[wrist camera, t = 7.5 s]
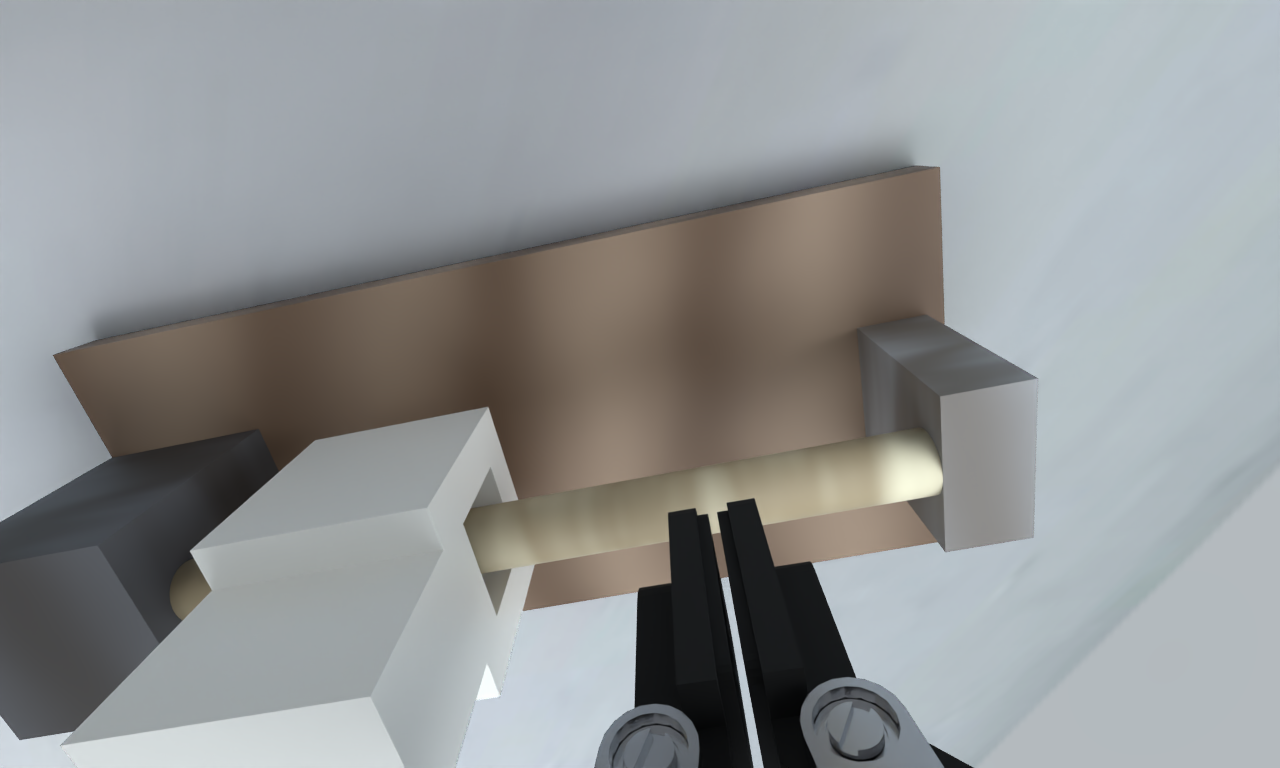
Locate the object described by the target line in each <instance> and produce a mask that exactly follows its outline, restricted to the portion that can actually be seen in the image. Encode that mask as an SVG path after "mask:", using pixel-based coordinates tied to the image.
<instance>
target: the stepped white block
mask: <svg viewBox="0 0 1280 768" xmlns="http://www.w3.org/2000/svg"><path fill="white" fill-rule="evenodd" d="M515 500H518V498H517V495H516V492H515V488H514V485H513V482H512V479H511V476H510V473H509V470H508V467H507V464H506V461H505V457H504V454H503V451H502V448H501V445H500V442H499V439H498V436H497V433H496V429H495V426H494V423H493V420H492V417H491V414H490V411H489V408H488V407H484V408H479V409H474V410H469V411H464V412H458V413H453V414H448V415H443V416H438V417H433V418H427V419H422V420H417V421H412V422H407V423H402V424H396V425H391V426H386V427H381V428H376V429H371V430H365V431H360V432H355V433H350V434H345V435H340V436H334V437H329V438H324V439H319V440H315V441H314V442H313V443H311V444H310V445H309V446H308V447H307V448H306V449H305V450H303V451H302V452H301V453H300V454H299V455H298V456H297V457H296V458H294V459H293V460H292V461H291V462H290V463H289V464H288V465H286V466H285V467H284V468H283V469H282V470H281V471H280V472H279V473H277V474H276V475H275V476H274V477H273V478H272V479H271V480H269V481H268V482H267V483H266V484H265V485H264V486H263V487H262V488H260V489H259V490H258V491H257V492H256V493H255V494H254V495H252V496H251V497H250V498H249V499H248V500H247V501H246V502H245V503H243V504H242V505H241V506H240V507H239V508H238V509H237V510H235V511H234V512H233V513H232V514H231V515H230V516H229V517H228V518H226V519H225V520H224V521H223V522H222V523H221V524H220V525H218V526H217V527H216V528H215V529H214V530H213V531H212V532H211V533H209V534H208V535H207V536H206V537H205V538H204V539H203V540H201V541H200V542H199V543H198V544H197V545H196V546H195V547H194V548H192V549H191V550H190V552H191V554H192V556H193V558H194V560H195V561H196V563H197V565H198V567H199V568H200V570H201V572H202V574H203V575H204V577H205V579H206V581H207V583H208V584H209V586H210V588H211V590H212V591H211V592H210V593H209V594H208V595H207V596H206V597H205V598H204V599H203V600H202V601H201V602H200V603H199V604H198V605H197V606H196V608H195V609H194V610H193V611H192V612H191V613H190V614H189V615H188V616H187V617H186V618H185V619H184V620H183V621H182V622H181V623H180V624H179V625H178V626H177V627H176V628H175V629H174V630H173V631H172V632H171V633H170V634H169V635H168V636H167V637H166V638H165V639H164V640H163V641H162V642H161V643H160V644H159V645H158V646H157V647H156V648H155V649H154V650H153V651H152V652H151V653H150V654H149V655H148V656H147V658H146V659H145V660H144V661H143V662H142V663H141V664H140V665H139V666H138V667H137V668H136V669H135V670H134V671H133V672H132V673H131V674H130V675H129V676H128V677H127V678H126V679H125V680H124V681H123V682H122V683H121V684H120V685H119V686H118V687H117V688H116V689H115V690H114V691H113V692H112V693H111V694H110V695H109V696H108V697H107V698H106V699H105V700H104V701H103V702H102V703H101V704H100V705H99V706H98V708H97V709H96V710H95V711H94V712H93V713H92V714H91V715H90V716H89V717H88V718H87V719H86V720H85V721H84V722H83V723H82V724H81V725H80V726H79V727H78V728H77V729H76V730H75V731H74V732H73V733H72V734H71V735H70V736H69V737H68V738H67V739H66V740H65V741H64V742H63V743H62V744H61V745H60V746H61V748H62V749H63V750H64V752H65V753H66V754H67V755H68V757H69V758H70V759H71V761H72V762H73V763H74V765H75V766H76V767H77V768H456V764H457V761H458V758H459V754H460V751H461V748H462V744H463V741H464V738H465V735H466V731H467V728H468V725H469V721H470V718H471V715H472V711H473V708H474V705H475V701H477V700H483V699H490V698H496V697H500V696H501V692H502V688H503V684H504V680H505V676H506V673H507V669H508V665H509V661H510V657H511V653H512V650H513V646H514V642H515V638H516V634H517V630H518V627H519V623H520V619H521V615H522V611H523V607H524V603H525V600H526V596H527V592H528V588H529V584H530V580H531V577H532V573H533V569H534V565H529V566H523V567H517V568H512V569H506V570H500V571H494V572H488V573H483V574H481V572H480V569H479V566H478V563H477V561H476V558H475V555H474V552H473V550H472V547H471V544H470V541H469V539H468V536H467V533H466V531H465V528H464V525H463V523H464V521H465V519H466V517H467V515H468V513H469V511H470V509H471V508H476V507H482V506H487V505H493V504H499V503H504V502H510V501H515Z"/></svg>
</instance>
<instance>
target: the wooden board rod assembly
mask: <svg viewBox="0 0 1280 768" xmlns="http://www.w3.org/2000/svg"><path fill="white" fill-rule="evenodd" d="M53 356H54V358H55V360H56V362H57V363H58V365H59V367H60V368H61V370H62V372H63V374H64V375H65V377H66V379H67V381H68V382H69V384H70V386H71V387H72V389H73V391H74V393H75V394H76V396H77V398H78V399H79V401H80V403H81V405H82V406H83V408H84V410H85V411H86V413H87V415H88V417H89V418H90V420H91V422H92V424H93V425H94V427H95V429H96V430H97V432H98V434H99V436H100V437H101V439H102V441H103V442H104V444H105V446H106V448H107V449H108V451H109V453H110V455H111V456H112V458H111V459H109V460H107V461H106V462H104V463H102V464H100V465H99V466H97V467H95V468H94V469H92V470H90V471H88V472H87V473H85V474H83V475H81V476H80V477H78V478H76V479H74V480H73V481H71V482H69V483H68V484H66V485H64V486H62V487H61V488H59V489H57V490H55V491H54V492H52V493H50V494H49V495H47V496H45V497H43V498H42V499H40V500H38V501H36V502H35V503H33V504H31V505H29V506H28V507H26V508H24V509H23V510H21V511H19V512H17V513H16V514H14V515H12V516H10V517H9V518H7V519H5V520H3V521H2V522H0V716H1V717H2V718H3V719H4V721H5V722H6V723H7V725H8V726H9V727H10V728H11V730H12V731H13V732H14V733H15V735H16V736H17V737H18V738H19V740H23V739H29V738H35V737H42V736H48V735H54V734H60V733H67V732H73V731H75V730H76V729H77V728H78V727H79V726H80V725H81V724H82V723H83V722H84V721H85V720H86V719H87V718H88V717H89V716H90V715H91V714H92V713H93V712H94V711H95V710H96V709H97V708H98V706H99V705H100V704H101V703H102V702H103V701H104V700H105V699H106V698H107V697H108V696H109V695H110V694H111V693H112V692H113V691H114V690H115V689H116V688H117V687H118V686H119V685H120V684H121V683H122V682H123V681H124V680H125V679H126V678H127V677H128V676H129V675H130V674H131V673H132V672H133V671H134V670H135V669H136V668H137V667H138V666H139V665H140V664H141V663H142V662H143V661H144V660H145V659H146V658H147V656H148V655H149V654H150V653H151V652H152V651H153V650H154V649H155V648H156V647H157V646H158V645H159V644H160V643H161V642H162V641H163V640H164V639H165V638H166V637H167V636H168V635H169V634H170V633H171V632H172V631H173V630H174V629H175V628H176V627H177V626H178V625H179V624H180V623H181V622H182V621H183V620H184V619H185V618H186V617H187V616H188V615H189V614H190V613H191V612H192V611H193V610H194V609H195V608H196V606H197V605H198V604H199V603H200V602H201V601H202V600H203V599H204V598H205V597H206V596H207V595H208V594H209V593H210V592H211V591H212V590H211V588H210V586H209V584H208V583H207V581H206V579H205V577H204V575H203V574H202V572H201V570H200V568H199V567H198V565H197V563H196V561H195V560H194V558H193V556H192V554H191V552H190V550H191V549H192V548H194V547H195V546H196V545H197V544H198V543H199V542H200V541H201V540H203V539H204V538H205V537H206V536H207V535H208V534H209V533H211V532H212V531H213V530H214V529H215V528H216V527H217V526H218V525H220V524H221V523H222V522H223V521H224V520H225V519H226V518H228V517H229V516H230V515H231V514H232V513H233V512H234V511H235V510H237V509H238V508H239V507H240V506H241V505H242V504H243V503H245V502H246V501H247V500H248V499H249V498H250V497H251V496H252V495H254V494H255V493H256V492H257V491H258V490H259V489H260V488H262V487H263V486H264V485H265V484H266V483H267V482H268V481H269V480H271V479H272V478H273V477H274V476H275V475H276V474H277V473H279V472H280V471H281V470H282V469H283V468H284V467H285V466H286V465H288V464H289V463H290V462H291V461H292V460H293V459H294V458H296V457H297V456H298V455H299V454H300V453H301V452H302V451H303V450H305V449H306V448H307V447H308V446H309V445H310V444H311V443H313V442H314V441H315V440H319V439H324V438H329V437H334V436H340V435H345V434H350V433H355V432H360V431H365V430H371V429H376V428H381V427H386V426H391V425H396V424H402V423H407V422H412V421H417V420H422V419H427V418H433V417H438V416H443V415H448V414H453V413H458V412H464V411H469V410H474V409H479V408H484V407H488V408H489V411H490V414H491V417H492V420H493V423H494V426H495V429H496V433H497V436H498V439H499V442H500V445H501V448H502V451H503V454H504V457H505V461H506V464H507V467H508V470H509V473H510V476H511V479H512V482H513V485H514V488H515V492H516V495H517V498H518V500H515V501H510V502H504V503H499V504H493V505H487V506H482V507H476V508H471V509H470V511H469V513H468V515H467V517H466V519H465V521H464V523H463V525H464V528H465V531H466V533H467V536H468V539H469V541H470V544H471V547H472V550H473V552H474V555H475V558H476V561H477V563H478V566H479V569H480V572H481V574H483V573H488V572H494V571H500V570H506V569H512V568H517V567H523V566H529V565H534V569H533V573H532V577H531V580H530V584H529V588H528V592H527V596H526V600H525V603H524V607H523V611H526V610H532V609H538V608H544V607H550V606H556V605H562V604H568V603H574V602H580V601H586V600H592V599H598V598H604V597H610V596H616V595H622V594H628V593H634V592H638V590H639V588H642V587H648V586H654V585H661V584H667V583H671V569H670V548H669V528H668V512H674V511H680V510H686V509H692V508H696V511H697V515H702V514H708V517H709V521H710V527H711V532H712V537H713V542H714V547H715V552H716V557H717V563H718V568H719V573H720V578H724V577H728V571H727V566H726V560H725V555H724V549H723V544H722V538H721V532H720V527H719V521H718V516H717V512H720V511H726V510H728V509H727V503H728V502H734V501H740V500H746V499H752V498H754V499H755V501H756V505H757V508H758V512H759V515H760V518H761V522H762V525H763V529H764V532H765V536H766V539H767V542H768V546H769V549H770V553H771V556H772V559H773V563H774V566H775V567H776V566H782V565H789V564H795V563H802V562H808V561H810V562H811V563H815V562H821V561H827V560H833V559H839V558H845V557H851V556H857V555H863V554H869V553H875V552H881V551H887V550H893V549H899V548H905V547H911V546H917V545H923V544H929V543H935V542H938V543H939V544H940V546H941V547H942V548H943V550H944V551H945V552H950V551H956V550H962V549H968V548H974V547H980V546H986V545H992V544H998V543H1004V542H1010V541H1016V540H1022V539H1028V538H1034V508H1035V473H1036V438H1037V403H1038V378H1036V377H1035V376H1033V375H1031V374H1029V373H1028V372H1026V371H1024V370H1022V369H1021V368H1019V367H1017V366H1015V365H1014V364H1012V363H1010V362H1009V361H1007V360H1005V359H1003V358H1002V357H1000V356H998V355H996V354H995V353H993V352H991V351H989V350H988V349H986V348H984V347H982V346H981V345H979V344H977V343H975V342H974V341H972V340H970V339H968V338H967V337H965V336H963V335H961V334H960V333H958V332H956V331H954V330H953V329H951V328H949V327H947V326H946V325H944V291H943V257H942V223H941V189H940V167H929V166H913V167H908V168H904V169H899V170H894V171H889V172H885V173H880V174H875V175H871V176H866V177H861V178H857V179H852V180H847V181H842V182H838V183H833V184H828V185H824V186H819V187H814V188H810V189H805V190H800V191H795V192H791V193H786V194H781V195H777V196H772V197H767V198H763V199H758V200H753V201H749V202H744V203H739V204H734V205H730V206H725V207H720V208H716V209H711V210H706V211H702V212H697V213H692V214H687V215H683V216H678V217H673V218H669V219H664V220H659V221H655V222H650V223H645V224H640V225H636V226H631V227H626V228H622V229H617V230H612V231H608V232H603V233H598V234H593V235H589V236H584V237H579V238H575V239H570V240H565V241H561V242H556V243H551V244H546V245H542V246H537V247H532V248H528V249H523V250H518V251H514V252H509V253H504V254H499V255H495V256H490V257H485V258H481V259H476V260H471V261H467V262H462V263H457V264H452V265H448V266H443V267H438V268H434V269H429V270H424V271H420V272H415V273H410V274H405V275H401V276H396V277H391V278H387V279H382V280H377V281H373V282H368V283H363V284H359V285H354V286H349V287H344V288H340V289H335V290H330V291H326V292H321V293H316V294H312V295H307V296H302V297H297V298H293V299H288V300H283V301H279V302H274V303H269V304H265V305H260V306H255V307H250V308H246V309H241V310H236V311H232V312H227V313H222V314H218V315H213V316H208V317H203V318H199V319H194V320H189V321H185V322H180V323H175V324H171V325H166V326H161V327H156V328H152V329H147V330H142V331H138V332H133V333H128V334H124V335H119V336H114V337H109V338H105V339H100V340H95V341H92V342H89V343H87V344H84V345H81V346H78V347H75V348H72V349H69V350H66V351H63V352H61V353H58V354H55V355H53Z"/></svg>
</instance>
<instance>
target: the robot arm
mask: <svg viewBox="0 0 1280 768" xmlns="http://www.w3.org/2000/svg"><path fill="white" fill-rule="evenodd" d="M727 509H728V510H726V511H720V512H717V516H718V521H719V527H720V532H721V538H722V544H723V549H724V555H725V560H726V566H727V571H728V577H729V582H730V588H731V593H732V599H733V604H734V610H735V615H736V621H737V626H738V632H739V638H740V643H741V649H742V654H743V660H744V665H745V671H746V676H747V681H748V687H749V692H750V697H751V703H752V708H753V713H754V718H755V724H756V729H757V734H758V740H759V745H760V750H761V755H762V761H763V766H764V768H973V767H971V766H969V765H968V764H966V763H964V762H962V761H960V760H958V759H957V758H955V757H953V756H951V755H949V754H948V753H946V752H944V751H942V750H940V749H938V748H937V747H935V746H933V745H931V744H929V743H928V742H927V740H926V739H925V737H924V735H923V734H922V732H921V731H920V729H919V728H918V726H917V725H916V723H915V721H914V720H913V718H912V717H911V715H910V714H909V712H908V711H907V709H906V707H905V706H904V705H903V704H902V703H901V702H900V701H899V699H898V698H897V697H896V696H895V695H894V694H893V693H891V692H890V691H888V690H887V689H885V688H884V687H882V686H881V685H879V684H876V683H873V682H871V681H868V680H865V679H859V678H856V676H855V673H854V671H853V668H852V666H851V663H850V660H849V658H848V655H847V653H846V650H845V647H844V645H843V642H842V640H841V637H840V634H839V632H838V629H837V626H836V624H835V621H834V619H833V616H832V613H831V611H830V608H829V606H828V603H827V600H826V598H825V595H824V593H823V590H822V587H821V585H820V582H819V580H818V577H817V574H816V572H815V569H814V567H813V565H812V563H811V562H810V561H808V562H802V563H795V564H789V565H782V566H776V567H775V566H774V563H773V559H772V556H771V553H770V549H769V546H768V542H767V539H766V536H765V532H764V529H763V525H762V522H761V518H760V515H759V512H758V508H757V505H756V501H755V499H754V498H752V499H746V500H740V501H734V502H728V503H727ZM668 528H669V548H670V569H671V583H667V584H661V585H654V586H648V587H642V588H639V590H638V599H637V637H636V675H635V708H634V709H632V710H630V711H627V712H626V713H624V714H623V715H622V716H620V717H619V718H618V719H617V720H615V721H614V722H613V724H612V725H611V726H610V727H609V729H608V730H607V731H606V733H605V734H604V737H603V739H602V742H601V744H600V747H599V750H598V754H597V758H596V762H595V767H594V768H753V762H752V756H751V750H750V744H749V738H748V732H747V726H746V720H745V714H744V708H743V702H742V695H741V689H740V683H739V677H738V671H737V665H736V659H735V653H734V647H733V641H732V635H731V630H730V624H729V619H728V614H727V609H726V604H725V599H724V593H723V588H722V583H721V578H720V573H719V568H718V563H717V557H716V552H715V547H714V542H713V537H712V532H711V527H710V521H709V517H708V514H702V515H697V511H696V508H692V509H686V510H680V511H674V512H668Z"/></svg>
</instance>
